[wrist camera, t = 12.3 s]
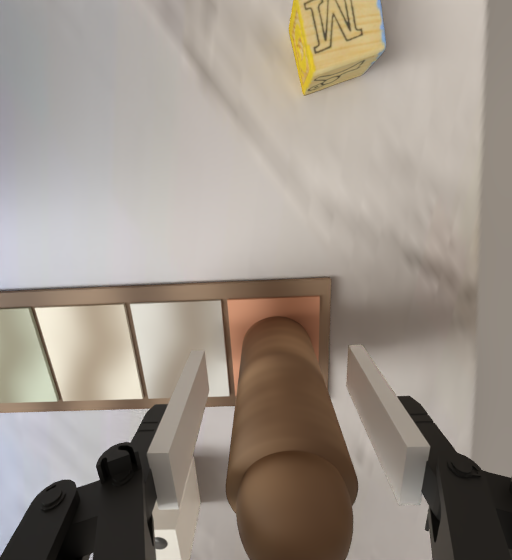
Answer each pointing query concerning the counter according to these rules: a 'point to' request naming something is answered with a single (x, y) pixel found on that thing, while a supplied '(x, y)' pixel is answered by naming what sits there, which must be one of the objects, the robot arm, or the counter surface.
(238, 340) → the game board
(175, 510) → the die
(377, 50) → the alphabet block
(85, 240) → the counter surface
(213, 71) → the counter surface
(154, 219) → the counter surface
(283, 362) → the wooden domed cylinder
